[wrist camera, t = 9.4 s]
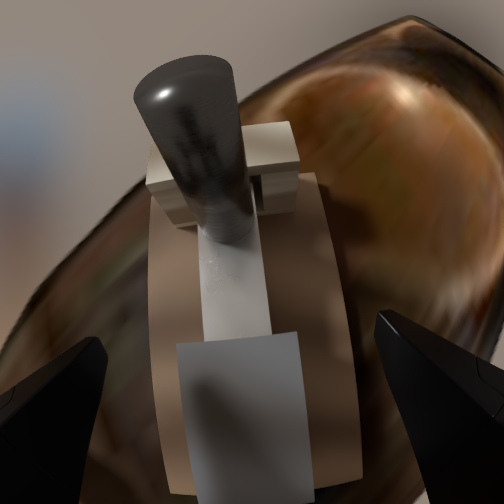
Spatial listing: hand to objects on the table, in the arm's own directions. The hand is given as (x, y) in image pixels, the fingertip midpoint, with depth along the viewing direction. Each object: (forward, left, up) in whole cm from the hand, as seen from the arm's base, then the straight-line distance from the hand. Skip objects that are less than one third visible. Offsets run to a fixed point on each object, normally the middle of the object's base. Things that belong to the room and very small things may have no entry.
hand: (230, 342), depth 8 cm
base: (+1, 0, -9) cm, 9 cm away
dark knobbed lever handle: (+3, 0, -7) cm, 8 cm away
